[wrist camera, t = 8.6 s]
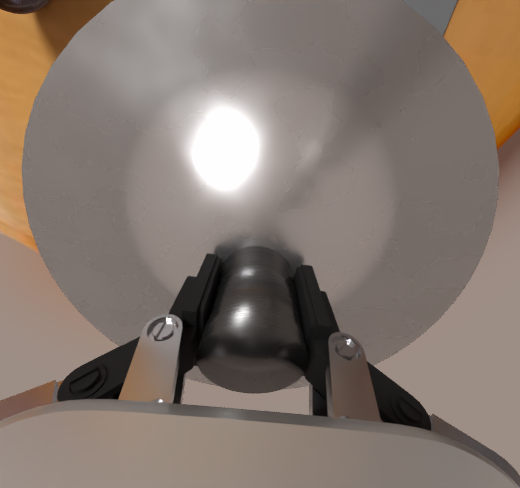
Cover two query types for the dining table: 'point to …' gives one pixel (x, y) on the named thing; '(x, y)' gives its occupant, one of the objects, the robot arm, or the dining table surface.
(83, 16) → the dining table surface
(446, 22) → the rubber mat
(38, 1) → the tin
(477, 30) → the dining table surface
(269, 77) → the lidded metal pot
